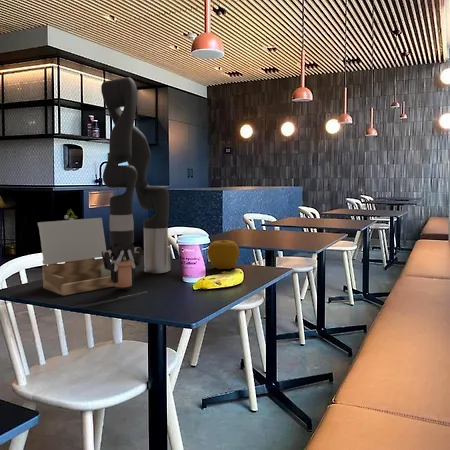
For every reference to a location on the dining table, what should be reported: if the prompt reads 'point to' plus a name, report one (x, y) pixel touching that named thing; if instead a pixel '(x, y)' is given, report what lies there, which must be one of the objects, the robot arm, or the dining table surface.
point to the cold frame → (75, 277)
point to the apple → (223, 254)
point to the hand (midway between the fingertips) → (123, 280)
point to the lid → (71, 240)
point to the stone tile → (132, 294)
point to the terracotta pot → (124, 273)
